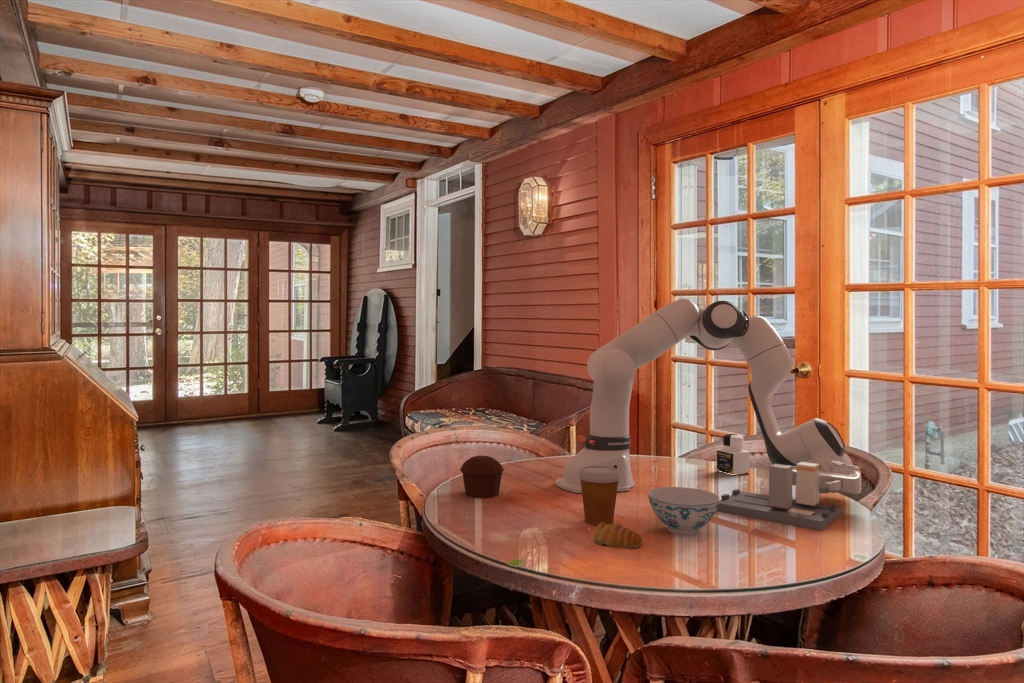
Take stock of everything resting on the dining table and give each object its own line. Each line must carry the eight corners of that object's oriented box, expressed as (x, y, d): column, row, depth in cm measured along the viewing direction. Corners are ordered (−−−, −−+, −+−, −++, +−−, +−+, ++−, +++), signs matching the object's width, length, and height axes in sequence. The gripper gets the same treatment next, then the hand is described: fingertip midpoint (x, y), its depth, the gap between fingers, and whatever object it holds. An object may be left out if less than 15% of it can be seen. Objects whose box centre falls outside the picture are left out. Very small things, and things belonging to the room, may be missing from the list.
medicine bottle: (716, 471, 203) (716, 433, 203) (733, 469, 206) (733, 432, 206) (732, 476, 197) (733, 436, 197) (750, 474, 200) (750, 435, 200)
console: (715, 510, 156) (715, 498, 156) (739, 498, 169) (739, 487, 169) (821, 530, 141) (822, 516, 141) (840, 515, 153) (840, 503, 153)
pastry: (646, 543, 132) (646, 524, 132) (635, 553, 126) (635, 533, 126) (603, 536, 136) (603, 518, 136) (590, 545, 130) (591, 526, 130)
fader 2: (795, 505, 153) (796, 464, 153) (801, 502, 156) (801, 461, 156) (814, 508, 150) (814, 466, 150) (819, 505, 153) (819, 464, 153)
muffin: (510, 492, 174) (510, 455, 174) (492, 501, 164) (492, 462, 164) (471, 487, 179) (472, 451, 179) (451, 496, 169) (452, 458, 169)
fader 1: (768, 508, 150) (769, 466, 150) (774, 504, 153) (774, 463, 153) (786, 511, 148) (787, 468, 148) (792, 507, 151) (792, 466, 151)
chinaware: (670, 543, 131) (670, 505, 131) (635, 523, 145) (636, 489, 145) (733, 537, 135) (733, 501, 135) (694, 518, 150) (694, 485, 150)
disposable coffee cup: (626, 520, 148) (626, 468, 148) (610, 530, 140) (611, 475, 140) (588, 514, 153) (588, 463, 153) (570, 523, 144) (571, 470, 144)
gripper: (780, 457, 170) (762, 464, 159) (867, 467, 156) (853, 476, 146) (780, 481, 170) (761, 490, 159) (867, 493, 156) (853, 504, 146)
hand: (806, 483), depth 152 cm, fingers open, 8 cm apart
